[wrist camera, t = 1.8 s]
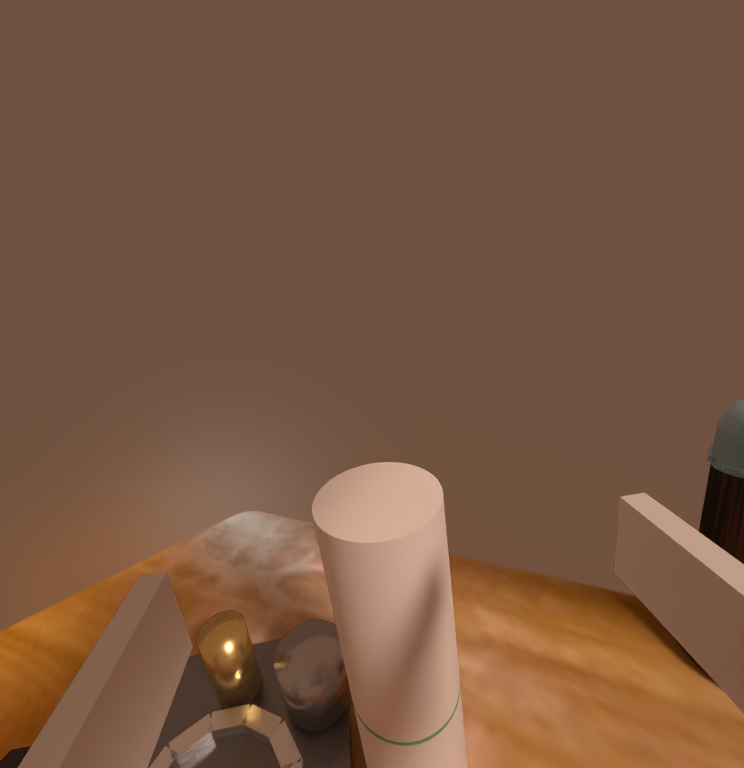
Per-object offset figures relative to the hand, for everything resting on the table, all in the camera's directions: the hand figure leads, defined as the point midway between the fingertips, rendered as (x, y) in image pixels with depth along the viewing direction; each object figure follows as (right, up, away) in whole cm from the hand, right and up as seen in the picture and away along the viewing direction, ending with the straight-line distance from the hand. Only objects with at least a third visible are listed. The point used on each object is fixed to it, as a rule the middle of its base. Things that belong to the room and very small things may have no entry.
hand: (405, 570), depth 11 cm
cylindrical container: (+3, -24, +18) cm, 30 cm away
